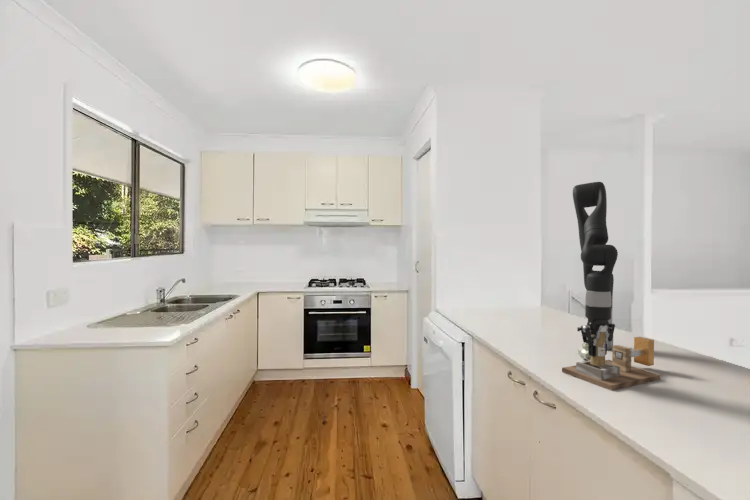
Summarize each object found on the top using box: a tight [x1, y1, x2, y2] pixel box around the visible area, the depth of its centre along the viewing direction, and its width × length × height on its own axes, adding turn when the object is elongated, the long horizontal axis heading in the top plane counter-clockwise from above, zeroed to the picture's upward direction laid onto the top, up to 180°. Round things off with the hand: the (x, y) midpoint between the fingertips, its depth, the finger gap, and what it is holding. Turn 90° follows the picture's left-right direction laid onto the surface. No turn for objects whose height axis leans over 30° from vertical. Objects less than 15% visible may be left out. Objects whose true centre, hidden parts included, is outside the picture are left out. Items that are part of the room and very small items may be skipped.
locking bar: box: [616, 336, 655, 367], centre depth 134 cm, size 15×5×9 cm, turn 113°
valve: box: [576, 326, 591, 361], centre depth 148 cm, size 7×7×12 cm
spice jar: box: [590, 326, 606, 366], centre depth 127 cm, size 5×5×14 cm
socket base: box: [561, 344, 661, 391], centre depth 129 cm, size 24×18×9 cm
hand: (597, 354), depth 127 cm, fingers closed on spice jar, 4 cm apart
